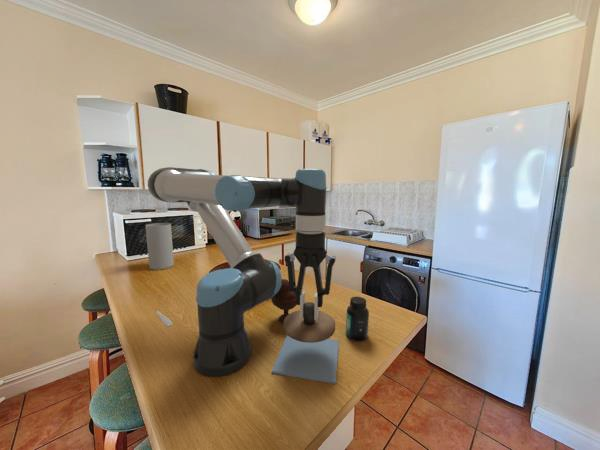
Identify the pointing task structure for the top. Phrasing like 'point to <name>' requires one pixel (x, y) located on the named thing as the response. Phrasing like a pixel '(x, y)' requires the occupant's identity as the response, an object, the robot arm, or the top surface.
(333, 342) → the slate mat
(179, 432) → the top surface
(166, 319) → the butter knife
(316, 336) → the walnut lid
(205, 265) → the top surface
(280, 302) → the ice cream bowl
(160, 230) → the cylinder vase
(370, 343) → the top surface
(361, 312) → the supplement bottle
